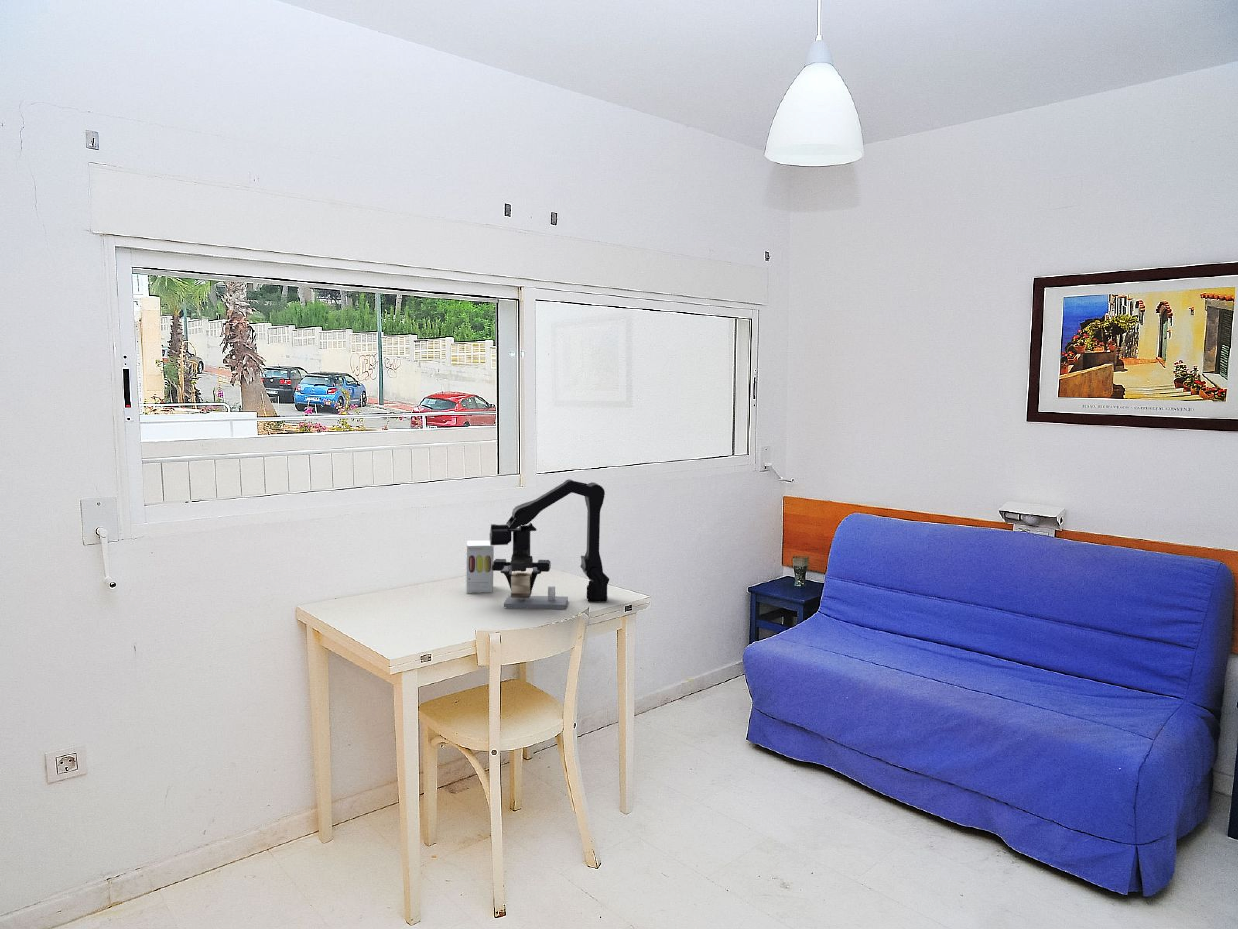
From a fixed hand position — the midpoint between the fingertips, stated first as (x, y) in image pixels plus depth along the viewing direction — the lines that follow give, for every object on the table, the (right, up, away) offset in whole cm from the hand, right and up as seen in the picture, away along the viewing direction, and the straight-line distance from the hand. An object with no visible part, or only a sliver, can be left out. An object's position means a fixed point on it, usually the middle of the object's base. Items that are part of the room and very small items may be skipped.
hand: (521, 590), depth 267 cm
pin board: (+5, -5, 0) cm, 7 cm away
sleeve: (0, -2, 0) cm, 2 cm away
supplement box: (-17, -3, +18) cm, 25 cm away
